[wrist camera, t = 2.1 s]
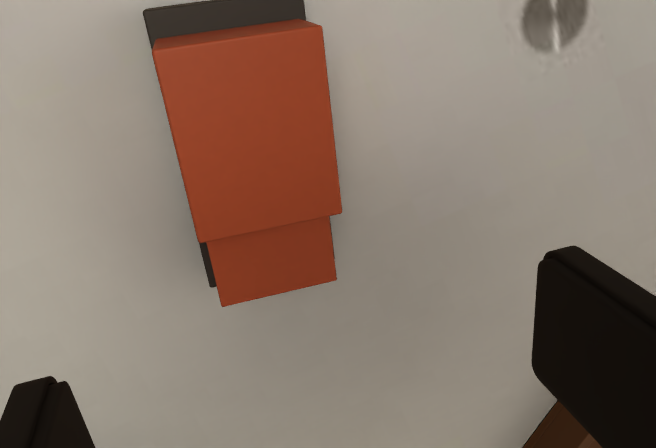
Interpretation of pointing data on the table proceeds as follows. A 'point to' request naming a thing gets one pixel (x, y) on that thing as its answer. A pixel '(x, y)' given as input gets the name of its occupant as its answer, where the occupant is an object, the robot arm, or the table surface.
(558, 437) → the tray
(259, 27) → the shoe
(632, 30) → the table surface
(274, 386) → the table surface
